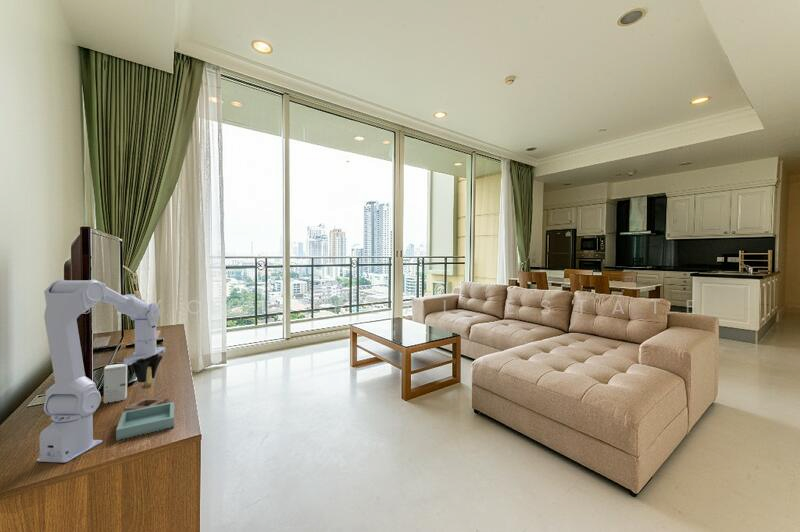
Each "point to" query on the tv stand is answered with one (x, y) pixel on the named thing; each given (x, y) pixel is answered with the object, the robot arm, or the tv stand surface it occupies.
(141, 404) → the collar
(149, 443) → the tv stand surface
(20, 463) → the tv stand surface
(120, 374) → the skincare box
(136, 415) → the tray
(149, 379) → the pin
